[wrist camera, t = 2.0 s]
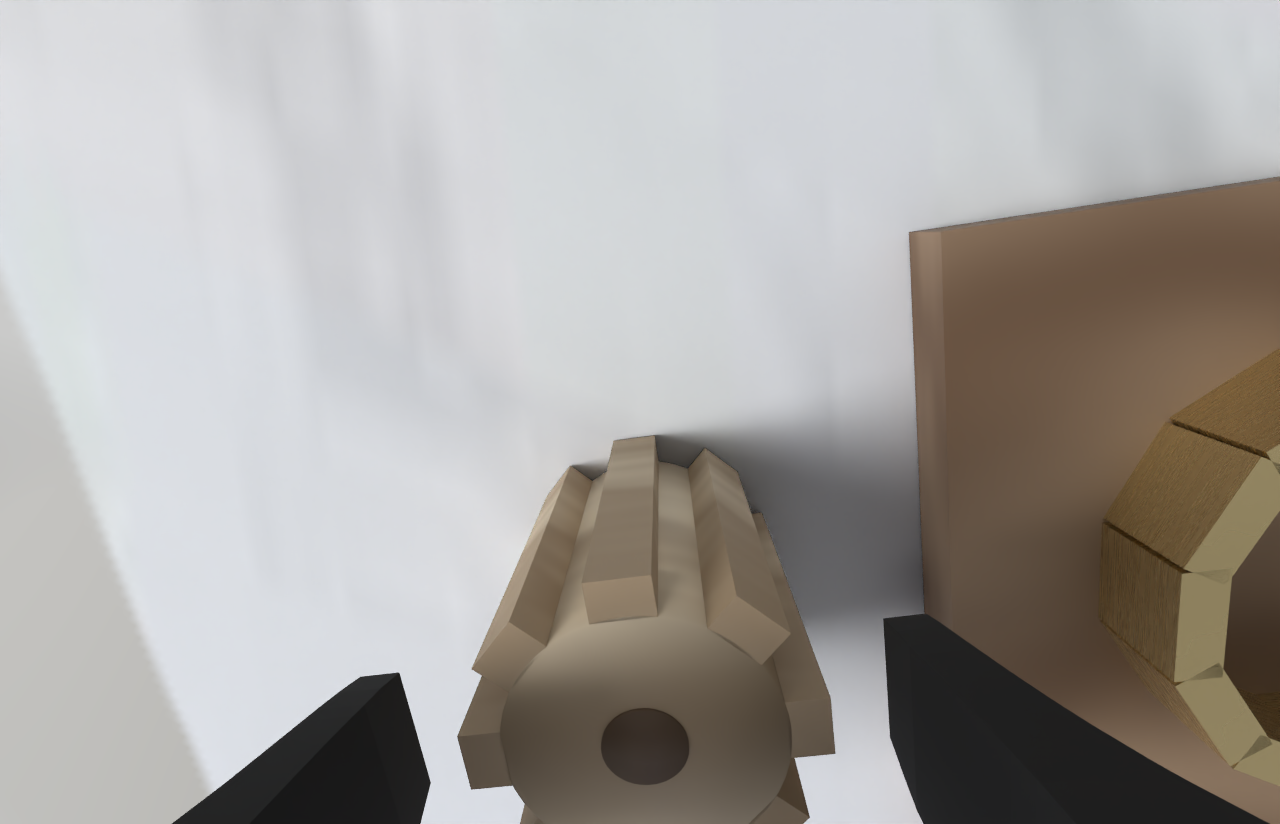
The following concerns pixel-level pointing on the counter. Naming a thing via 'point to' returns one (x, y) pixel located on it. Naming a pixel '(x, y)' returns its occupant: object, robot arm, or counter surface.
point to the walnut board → (1086, 435)
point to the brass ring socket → (1198, 561)
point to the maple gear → (648, 657)
